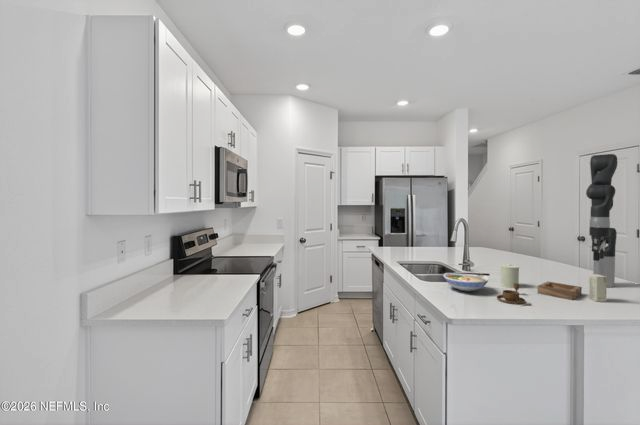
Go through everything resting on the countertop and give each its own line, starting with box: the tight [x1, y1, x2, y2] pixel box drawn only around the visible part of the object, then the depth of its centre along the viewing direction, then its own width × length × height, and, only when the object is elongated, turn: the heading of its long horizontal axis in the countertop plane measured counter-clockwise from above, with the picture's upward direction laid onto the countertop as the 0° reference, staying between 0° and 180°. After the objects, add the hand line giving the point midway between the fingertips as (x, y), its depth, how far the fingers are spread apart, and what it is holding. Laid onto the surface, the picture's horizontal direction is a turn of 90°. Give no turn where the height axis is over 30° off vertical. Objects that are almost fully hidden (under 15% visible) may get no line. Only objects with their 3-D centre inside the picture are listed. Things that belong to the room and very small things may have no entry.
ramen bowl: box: [442, 271, 490, 293], centre depth 178 cm, size 25×23×8 cm
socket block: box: [537, 281, 583, 301], centre depth 171 cm, size 15×15×4 cm
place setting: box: [496, 284, 532, 307], centre depth 161 cm, size 18×20×6 cm
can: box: [499, 263, 520, 289], centre depth 187 cm, size 9×9×12 cm
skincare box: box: [588, 273, 607, 303], centre depth 160 cm, size 6×4×12 cm
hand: (598, 259), depth 160 cm, fingers open, 8 cm apart
